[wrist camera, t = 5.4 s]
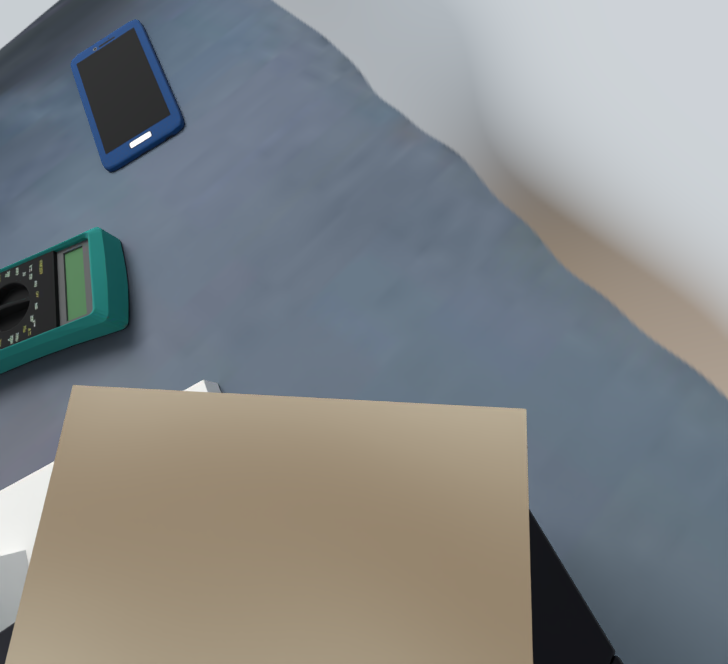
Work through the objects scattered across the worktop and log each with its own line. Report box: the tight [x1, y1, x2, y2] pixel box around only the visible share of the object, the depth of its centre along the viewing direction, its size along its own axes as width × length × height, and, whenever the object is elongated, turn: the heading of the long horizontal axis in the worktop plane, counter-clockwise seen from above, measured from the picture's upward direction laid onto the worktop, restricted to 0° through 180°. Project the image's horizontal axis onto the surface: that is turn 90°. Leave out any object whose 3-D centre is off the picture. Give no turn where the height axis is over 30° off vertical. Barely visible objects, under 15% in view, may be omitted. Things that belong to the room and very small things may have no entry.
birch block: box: [5, 385, 533, 664], centre depth 9 cm, size 5×5×12 cm
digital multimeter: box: [0, 227, 129, 374], centre depth 29 cm, size 7×15×3 cm, turn 107°
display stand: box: [0, 380, 221, 632], centre depth 21 cm, size 20×16×4 cm
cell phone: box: [71, 20, 185, 172], centre depth 34 cm, size 7×14×1 cm, turn 27°
